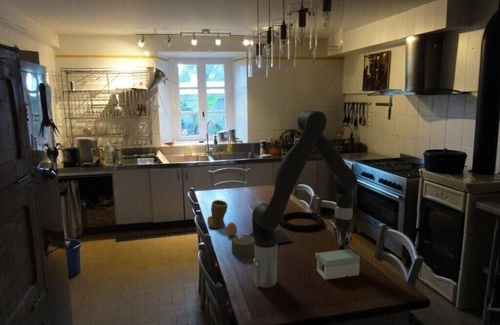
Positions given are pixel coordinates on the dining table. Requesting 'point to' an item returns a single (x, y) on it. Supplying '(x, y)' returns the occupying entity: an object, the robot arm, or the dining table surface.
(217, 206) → the brown boot
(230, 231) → the egg
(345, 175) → the robot arm
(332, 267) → the curved white channel
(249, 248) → the can
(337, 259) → the cover
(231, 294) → the dining table surface
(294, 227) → the cable lock
